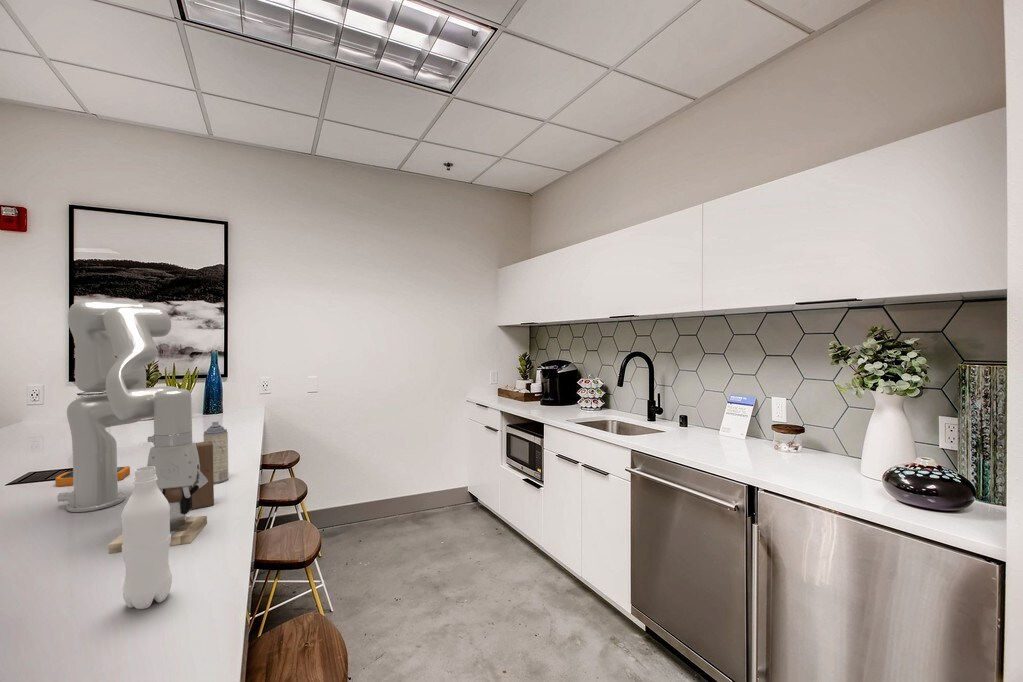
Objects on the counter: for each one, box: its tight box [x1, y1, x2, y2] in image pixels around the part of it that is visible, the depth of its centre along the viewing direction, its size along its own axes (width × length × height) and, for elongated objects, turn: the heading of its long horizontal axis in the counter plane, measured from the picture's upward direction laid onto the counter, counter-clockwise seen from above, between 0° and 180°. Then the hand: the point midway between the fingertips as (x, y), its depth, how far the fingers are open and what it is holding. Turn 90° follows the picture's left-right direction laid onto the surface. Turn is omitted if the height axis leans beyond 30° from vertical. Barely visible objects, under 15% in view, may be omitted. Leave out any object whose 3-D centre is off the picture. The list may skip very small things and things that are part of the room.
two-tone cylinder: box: [165, 487, 187, 528], centre depth 114 cm, size 4×4×12 cm
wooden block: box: [190, 441, 215, 511], centre depth 132 cm, size 9×4×18 cm, turn 127°
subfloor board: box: [107, 515, 208, 554], centre depth 113 cm, size 16×12×2 cm
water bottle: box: [120, 466, 173, 610], centre depth 86 cm, size 7×7×25 cm
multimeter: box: [54, 465, 131, 487], centre depth 156 cm, size 9×18×3 cm, turn 112°
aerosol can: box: [203, 420, 229, 485], centre depth 155 cm, size 7×7×20 cm
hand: (175, 512), depth 114 cm, fingers closed on two-tone cylinder, 4 cm apart
